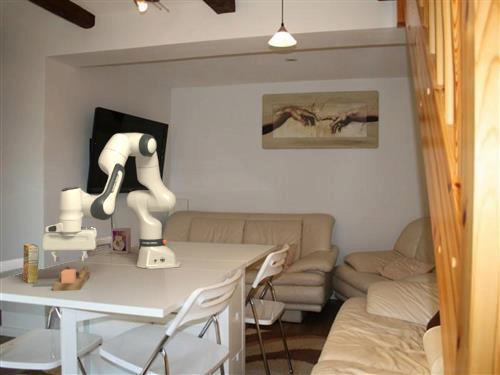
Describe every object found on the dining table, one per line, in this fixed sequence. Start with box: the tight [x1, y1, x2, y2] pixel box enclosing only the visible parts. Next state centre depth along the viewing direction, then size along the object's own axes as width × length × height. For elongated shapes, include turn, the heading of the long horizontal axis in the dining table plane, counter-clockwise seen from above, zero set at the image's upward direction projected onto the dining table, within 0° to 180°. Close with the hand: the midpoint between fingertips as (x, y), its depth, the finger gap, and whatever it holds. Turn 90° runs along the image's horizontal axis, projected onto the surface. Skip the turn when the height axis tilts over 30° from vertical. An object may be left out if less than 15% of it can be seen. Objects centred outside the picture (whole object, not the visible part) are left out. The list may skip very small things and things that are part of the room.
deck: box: [52, 265, 91, 292], centre depth 180 cm, size 10×24×6 cm, turn 12°
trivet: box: [32, 277, 59, 288], centre depth 179 cm, size 9×9×1 cm
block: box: [61, 268, 77, 283], centre depth 172 cm, size 4×4×4 cm
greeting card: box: [111, 227, 132, 255], centre depth 264 cm, size 11×7×15 cm, turn 73°
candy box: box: [22, 243, 40, 284], centre depth 184 cm, size 9×4×15 cm, turn 41°
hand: (69, 261), depth 173 cm, fingers open, 8 cm apart
